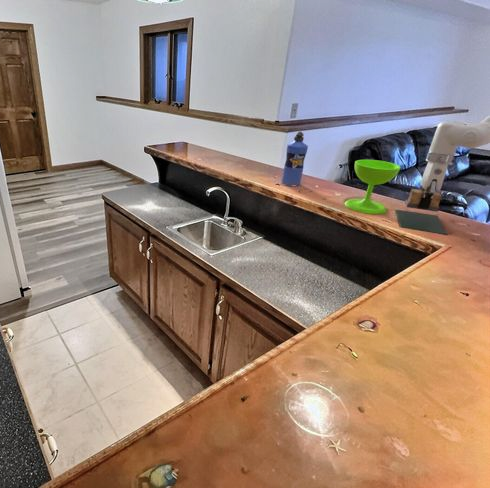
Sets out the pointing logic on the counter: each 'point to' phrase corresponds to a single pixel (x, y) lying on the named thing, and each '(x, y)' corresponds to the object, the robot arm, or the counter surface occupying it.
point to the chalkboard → (420, 222)
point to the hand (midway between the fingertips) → (421, 205)
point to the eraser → (416, 197)
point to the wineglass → (372, 184)
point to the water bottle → (294, 161)
